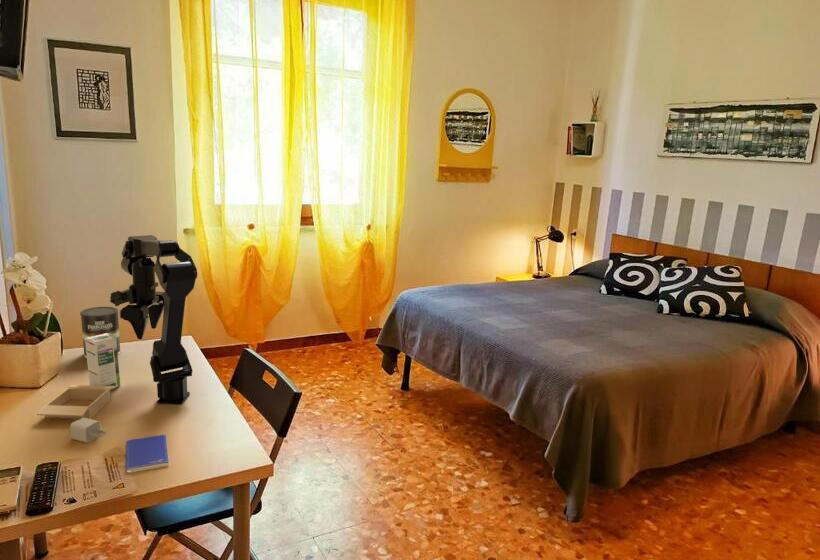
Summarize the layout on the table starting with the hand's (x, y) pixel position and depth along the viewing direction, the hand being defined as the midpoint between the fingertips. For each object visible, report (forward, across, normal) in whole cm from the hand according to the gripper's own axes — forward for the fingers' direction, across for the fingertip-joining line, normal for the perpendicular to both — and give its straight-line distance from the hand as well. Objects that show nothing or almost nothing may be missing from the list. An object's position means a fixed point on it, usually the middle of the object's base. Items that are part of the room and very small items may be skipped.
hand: (147, 333), depth 160 cm
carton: (+13, +21, -9) cm, 26 cm away
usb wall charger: (+13, +36, +1) cm, 38 cm away
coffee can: (+13, -16, -21) cm, 29 cm away
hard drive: (+14, +42, +16) cm, 47 cm away
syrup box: (+13, +8, -9) cm, 18 cm away
